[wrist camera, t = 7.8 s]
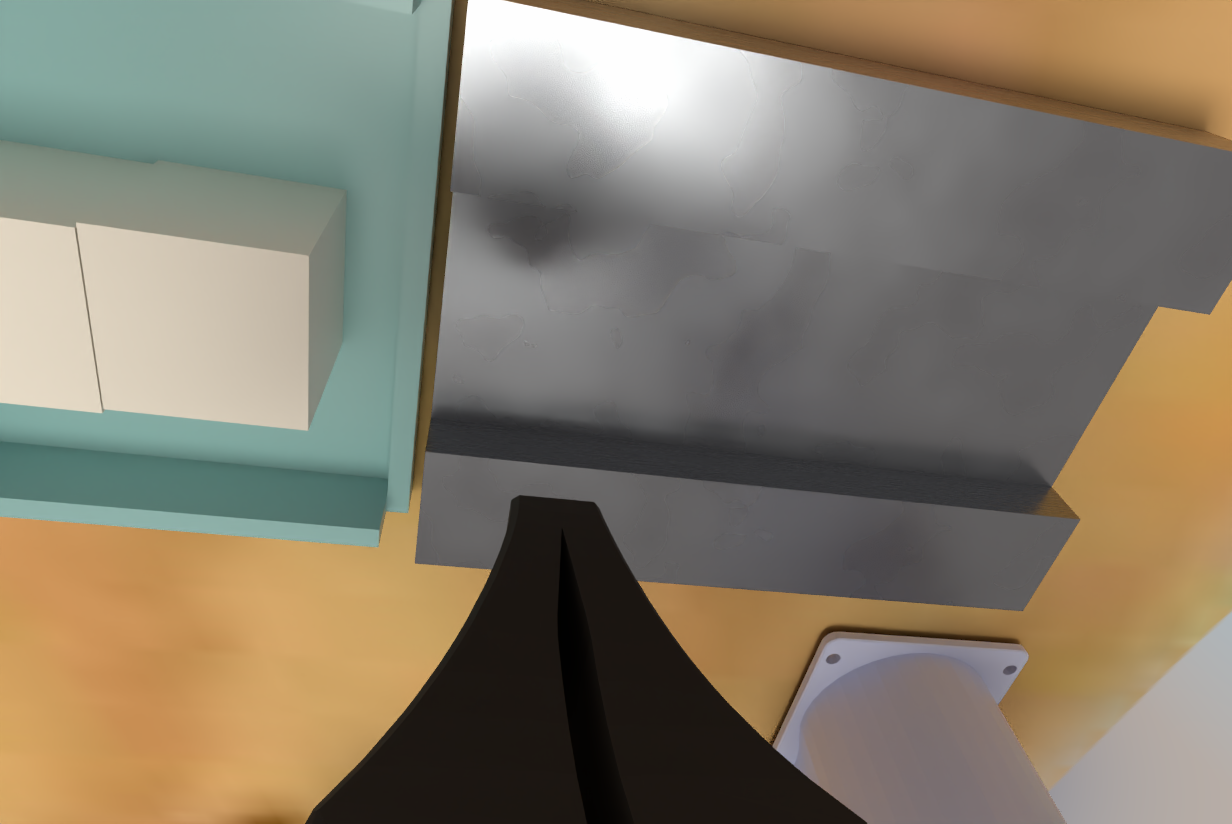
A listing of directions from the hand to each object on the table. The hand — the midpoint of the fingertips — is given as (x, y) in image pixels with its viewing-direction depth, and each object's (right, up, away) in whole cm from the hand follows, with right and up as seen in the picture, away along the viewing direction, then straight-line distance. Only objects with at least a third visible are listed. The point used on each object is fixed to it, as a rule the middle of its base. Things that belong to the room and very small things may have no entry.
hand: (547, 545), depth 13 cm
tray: (-9, +6, +6) cm, 13 cm away
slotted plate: (+6, +4, +9) cm, 11 cm away
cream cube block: (-7, +6, +6) cm, 11 cm away
